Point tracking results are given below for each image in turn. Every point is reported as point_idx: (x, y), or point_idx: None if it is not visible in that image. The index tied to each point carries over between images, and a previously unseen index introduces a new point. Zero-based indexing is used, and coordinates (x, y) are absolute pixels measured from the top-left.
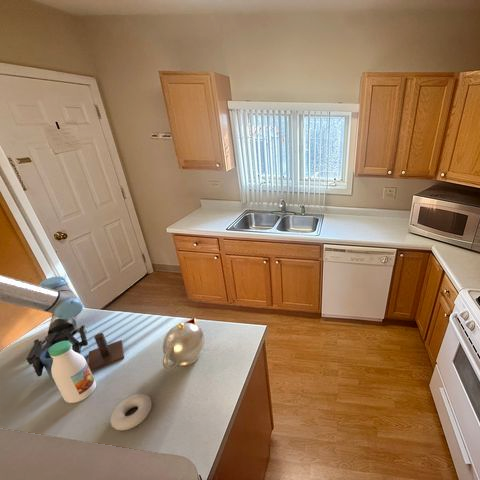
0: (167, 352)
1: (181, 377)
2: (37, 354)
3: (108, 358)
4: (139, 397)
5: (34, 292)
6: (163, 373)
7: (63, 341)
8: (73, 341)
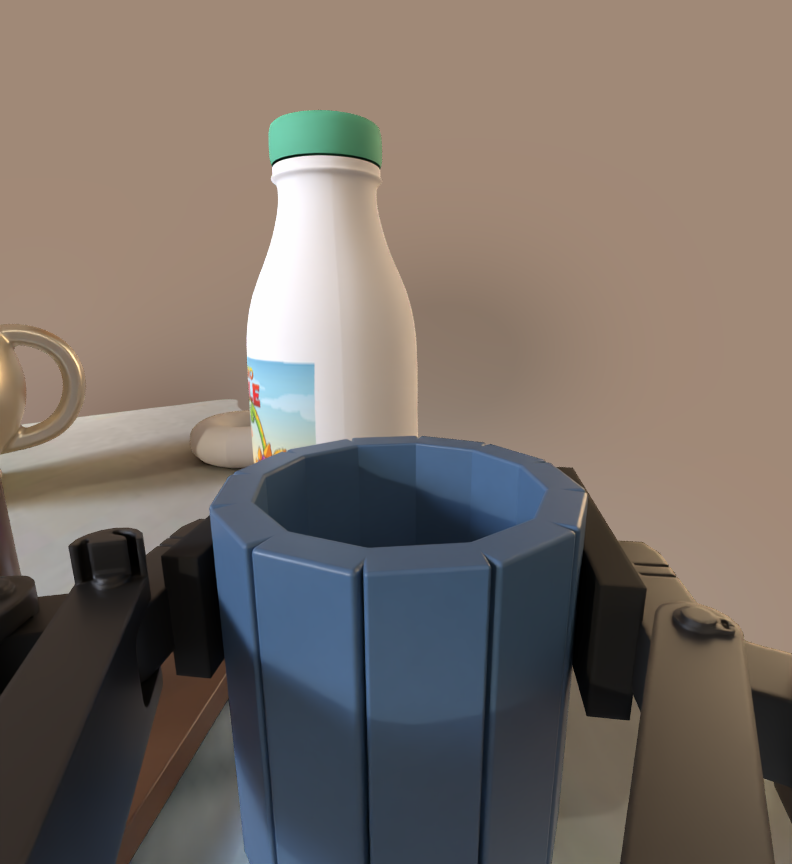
0: (36, 328)
1: (59, 468)
2: (718, 664)
3: None
4: (210, 422)
5: None
6: (61, 495)
7: (292, 113)
8: (101, 639)
